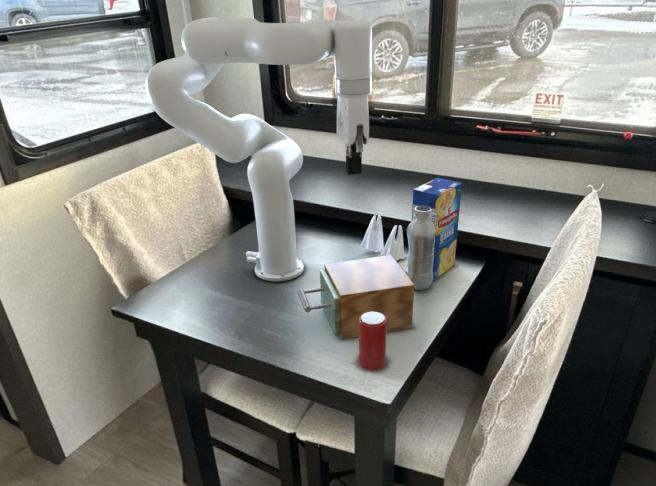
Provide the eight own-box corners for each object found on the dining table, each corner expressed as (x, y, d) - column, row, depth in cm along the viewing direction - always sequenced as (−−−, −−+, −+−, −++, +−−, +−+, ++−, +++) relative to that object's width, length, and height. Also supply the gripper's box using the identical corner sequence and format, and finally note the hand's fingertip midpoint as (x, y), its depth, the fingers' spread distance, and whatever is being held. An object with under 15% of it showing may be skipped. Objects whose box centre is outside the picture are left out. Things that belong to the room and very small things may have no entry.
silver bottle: (431, 294, 130) (437, 214, 120) (403, 291, 131) (406, 213, 121) (433, 281, 135) (439, 204, 125) (405, 279, 137) (409, 202, 126)
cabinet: (341, 339, 115) (340, 295, 109) (325, 304, 127) (324, 263, 121) (412, 327, 118) (414, 284, 112) (389, 295, 130) (391, 254, 125)
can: (363, 372, 105) (363, 327, 100) (355, 356, 109) (355, 312, 104) (389, 367, 106) (390, 322, 101) (380, 352, 110) (381, 308, 105)
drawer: (308, 339, 113) (306, 302, 109) (296, 307, 125) (294, 272, 120) (401, 324, 117) (402, 288, 113) (381, 294, 129) (382, 260, 124)
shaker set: (359, 252, 151) (359, 214, 145) (368, 246, 153) (369, 209, 148) (396, 263, 144) (398, 224, 138) (405, 258, 147) (407, 219, 141)
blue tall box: (408, 273, 139) (413, 189, 128) (431, 257, 147) (437, 177, 135) (432, 280, 136) (438, 195, 124) (454, 264, 143) (462, 182, 132)
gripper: (327, 82, 120) (329, 165, 129) (345, 94, 107) (346, 185, 116) (360, 80, 121) (360, 162, 131) (381, 91, 109) (380, 181, 118)
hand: (353, 173), depth 123 cm, fingers closed
